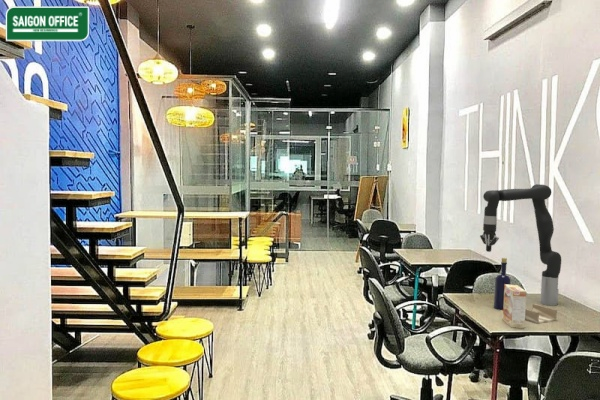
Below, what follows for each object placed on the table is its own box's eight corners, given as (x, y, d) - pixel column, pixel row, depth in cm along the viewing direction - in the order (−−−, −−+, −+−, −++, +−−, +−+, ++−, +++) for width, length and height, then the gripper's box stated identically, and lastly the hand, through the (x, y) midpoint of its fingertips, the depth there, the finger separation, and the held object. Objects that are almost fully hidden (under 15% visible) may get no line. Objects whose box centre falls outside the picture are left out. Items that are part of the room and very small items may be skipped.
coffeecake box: (502, 319, 275) (504, 284, 274) (515, 320, 274) (517, 284, 273) (510, 327, 260) (512, 290, 259) (525, 328, 259) (527, 291, 258)
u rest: (534, 314, 288) (534, 303, 287) (556, 320, 275) (556, 309, 275) (514, 316, 280) (515, 306, 280) (536, 323, 268) (537, 312, 268)
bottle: (511, 311, 293) (514, 260, 291) (494, 309, 295) (497, 259, 293) (508, 307, 302) (510, 257, 300) (492, 305, 304) (494, 256, 302)
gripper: (503, 224, 302) (501, 252, 303) (485, 222, 314) (484, 249, 315) (494, 224, 299) (492, 253, 300) (477, 222, 311) (475, 250, 311)
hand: (488, 251), depth 307 cm, fingers closed
